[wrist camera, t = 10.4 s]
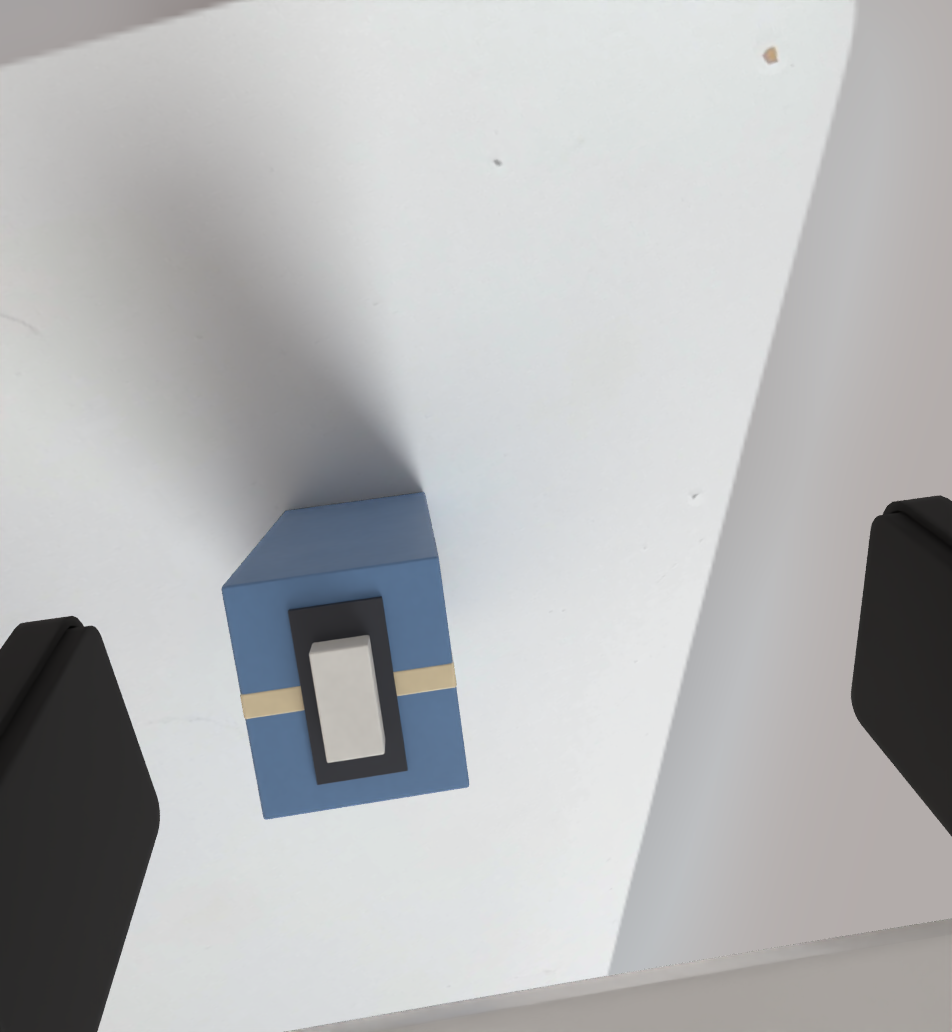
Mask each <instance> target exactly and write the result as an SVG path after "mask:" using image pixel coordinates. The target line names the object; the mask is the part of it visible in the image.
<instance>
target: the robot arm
mask: <svg viewBox="0 0 952 1032" xmlns="http://www.w3.org/2000/svg"><path fill="white" fill-rule="evenodd" d="M851 700H852V706H853V709H854V712H855V715H856V717H857V719H858V720H859V722H860V723H861V725H862V726H863V727H864V728H865V730H866V731H867V732H868V733H869V735H870V736H871V737H872V738H873V740H874V741H875V742H876V743H877V745H878V746H879V747H880V748H881V749H882V751H883V752H884V753H885V755H886V756H887V757H888V758H889V759H890V761H891V762H892V763H893V764H894V766H895V767H896V768H897V769H898V770H899V772H900V773H901V774H902V775H903V777H904V778H905V779H906V780H907V781H908V783H909V784H910V785H911V787H912V788H913V789H914V790H915V791H916V793H917V794H918V795H919V797H920V798H921V799H922V800H923V801H924V803H925V804H926V805H927V806H928V807H929V809H930V810H931V811H932V813H933V814H934V815H935V816H936V817H937V819H938V820H939V821H940V822H941V824H942V825H943V826H944V827H945V829H946V830H947V831H948V832H949V834H950V835H951V836H952V501H951V500H949V499H948V498H945V497H943V496H932V497H925V498H917V499H911V500H903V501H896V502H892V503H891V504H889V505H888V506H887V507H886V509H885V511H884V513H883V515H880V516H877V517H876V518H875V519H874V521H873V523H872V526H871V531H870V539H869V548H868V556H867V564H866V573H865V581H864V590H863V598H862V606H861V614H860V623H859V631H858V640H857V648H856V656H855V664H854V672H853V681H852V689H851ZM159 822H160V810H159V802H158V799H157V795H156V792H155V790H154V787H153V784H152V781H151V778H150V775H149V772H148V769H147V767H146V764H145V761H144V758H143V755H142V752H141V749H140V746H139V744H138V741H137V738H136V735H135V732H134V729H133V726H132V723H131V721H130V718H129V715H128V712H127V709H126V706H125V703H124V700H123V698H122V695H121V692H120V689H119V686H118V683H117V680H116V677H115V675H114V672H113V669H112V666H111V663H110V660H109V657H108V654H107V652H106V649H105V646H104V643H103V640H102V637H101V635H100V633H99V631H98V630H97V629H96V627H94V626H86V627H84V626H83V624H82V623H81V622H80V621H79V619H78V618H76V617H74V616H68V617H61V618H54V619H47V620H40V621H32V622H25V623H20V624H19V625H18V626H17V627H16V628H15V629H14V631H13V632H12V634H11V635H10V636H9V638H8V639H7V641H6V642H5V643H4V645H3V646H2V648H1V649H0V1032H97V1031H98V1027H99V1024H100V1021H101V1018H102V1014H103V1011H104V1008H105V1004H106V1001H107V998H108V995H109V991H110V988H111V985H112V981H113V978H114V975H115V972H116V968H117V965H118V962H119V958H120V955H121V952H122V949H123V945H124V942H125V939H126V935H127V932H128V929H129V926H130V922H131V919H132V916H133V912H134V909H135V906H136V903H137V899H138V896H139V893H140V889H141V886H142V883H143V880H144V876H145V873H146V870H147V866H148V863H149V860H150V857H151V853H152V850H153V847H154V843H155V840H156V837H157V834H158V829H159ZM286 1032H952V919H946V920H940V921H934V922H927V923H922V924H915V925H909V926H904V927H897V928H891V929H885V930H878V931H872V932H866V933H861V934H854V935H848V936H842V937H836V938H829V939H824V940H817V941H811V942H805V943H799V944H793V945H788V946H781V947H776V948H770V949H763V950H758V951H752V952H746V953H740V954H734V955H728V956H722V957H717V958H710V959H705V960H699V961H692V962H687V963H681V964H675V965H669V966H663V967H657V968H651V969H645V970H640V971H633V972H627V973H621V974H615V975H609V976H604V977H598V978H592V979H586V980H580V981H574V982H568V983H563V984H557V985H551V986H545V987H539V988H533V989H527V990H521V991H516V992H510V993H504V994H498V995H492V996H486V997H480V998H475V999H469V1000H463V1001H457V1002H451V1003H446V1004H440V1005H434V1006H429V1007H423V1008H417V1009H412V1010H406V1011H400V1012H394V1013H389V1014H383V1015H377V1016H372V1017H366V1018H360V1019H355V1020H349V1021H343V1022H337V1023H332V1024H326V1025H320V1026H315V1027H309V1028H303V1029H298V1030H292V1031H286Z"/></svg>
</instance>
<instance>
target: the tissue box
mask: <svg viewBox="0 0 952 1032" xmlns="http://www.w3.org/2000/svg"><path fill="white" fill-rule="evenodd" d="M222 594H223V600H224V605H225V611H226V616H227V622H228V627H229V633H230V638H231V643H232V649H233V654H234V660H235V665H236V671H237V676H238V682H239V687H240V692H241V695H240V697H241V703H242V708H243V713H244V717H245V720H246V725H247V730H248V736H249V741H250V747H251V752H252V758H253V763H254V769H255V774H256V779H257V785H258V790H259V796H260V801H261V807H262V812H263V817H264V819H273V818H279V817H285V816H292V815H298V814H304V813H310V812H317V811H323V810H329V809H335V808H342V807H348V806H354V805H360V804H367V803H373V802H379V801H385V800H392V799H398V798H404V797H410V796H417V795H423V794H429V793H435V792H442V791H448V790H454V789H460V788H467V787H469V778H468V771H467V764H466V756H465V749H464V741H463V734H462V727H461V719H460V712H459V704H458V697H457V690H456V685H457V684H456V677H455V669H454V663H453V657H452V652H451V645H450V638H449V630H448V623H447V616H446V608H445V601H444V593H443V586H442V579H441V571H440V564H439V557H438V552H437V548H436V543H435V538H434V534H433V529H432V524H431V519H430V515H429V510H428V505H427V501H426V496H425V493H424V492H420V493H413V494H405V495H398V496H391V497H383V498H376V499H368V500H361V501H354V502H346V503H339V504H332V505H324V506H317V507H309V508H302V509H295V510H287V511H285V512H284V513H283V514H282V516H281V517H280V518H279V519H278V520H277V522H276V523H275V524H274V525H273V526H272V528H271V529H270V530H269V531H268V532H267V534H266V535H265V536H264V537H263V538H262V540H261V541H260V542H259V543H258V544H257V546H256V547H255V548H254V549H253V550H252V552H251V553H250V554H249V555H248V556H247V558H246V559H245V560H244V561H243V562H242V564H241V565H240V566H239V567H238V568H237V570H236V571H235V572H234V573H233V574H232V576H231V577H230V578H229V579H228V580H227V582H226V583H225V584H224V585H223V586H222Z"/></svg>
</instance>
